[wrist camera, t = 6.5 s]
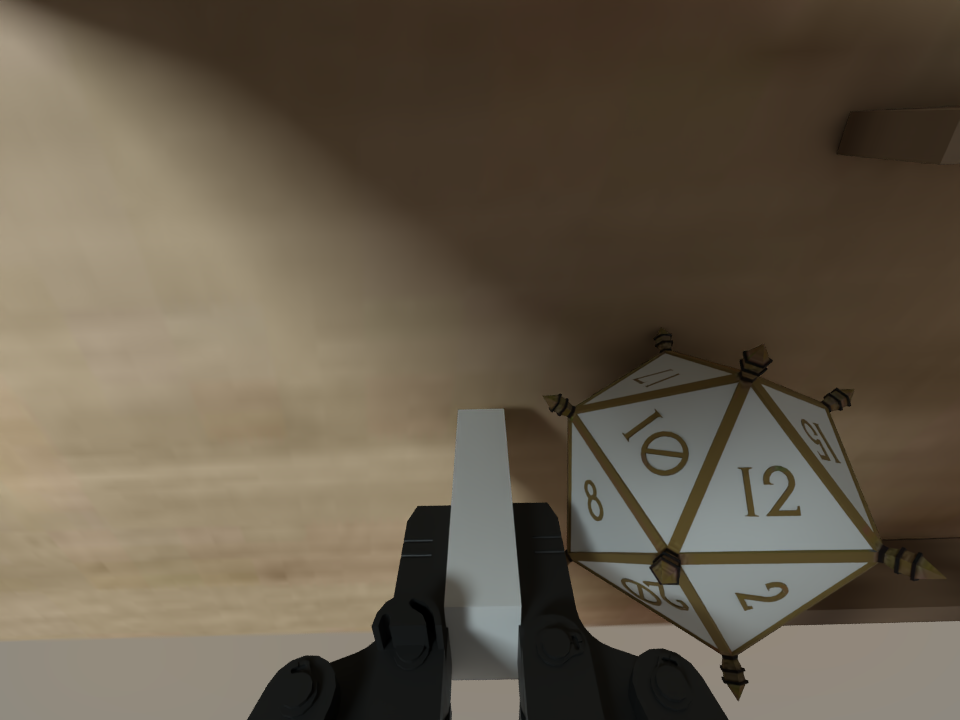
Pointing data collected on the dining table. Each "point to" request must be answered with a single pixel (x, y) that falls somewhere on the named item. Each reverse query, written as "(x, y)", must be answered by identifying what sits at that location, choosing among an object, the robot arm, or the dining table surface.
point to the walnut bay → (895, 595)
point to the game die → (718, 498)
